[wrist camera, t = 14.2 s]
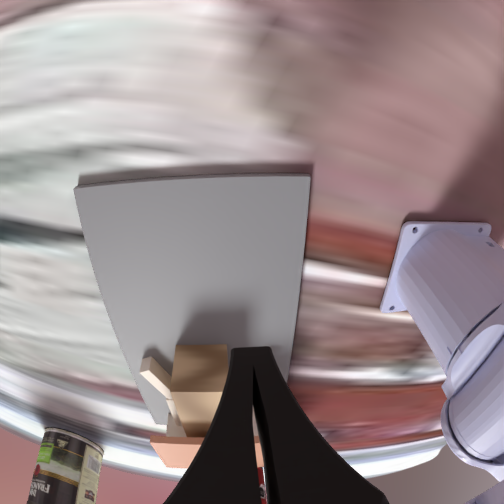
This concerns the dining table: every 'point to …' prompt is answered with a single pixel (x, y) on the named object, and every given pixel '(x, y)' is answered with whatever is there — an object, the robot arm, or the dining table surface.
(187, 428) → the tan cardboard block
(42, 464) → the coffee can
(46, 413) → the dining table surface
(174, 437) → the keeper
